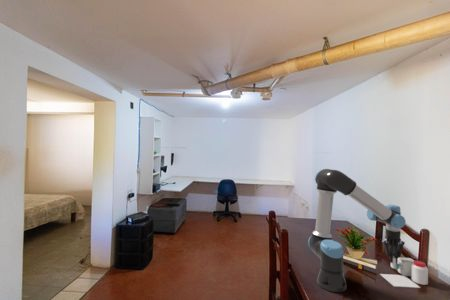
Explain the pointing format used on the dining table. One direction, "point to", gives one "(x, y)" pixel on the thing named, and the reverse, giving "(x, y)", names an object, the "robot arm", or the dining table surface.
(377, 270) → the dining table surface
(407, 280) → the mat
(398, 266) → the plunger
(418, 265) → the pill bottle
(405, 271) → the housing
